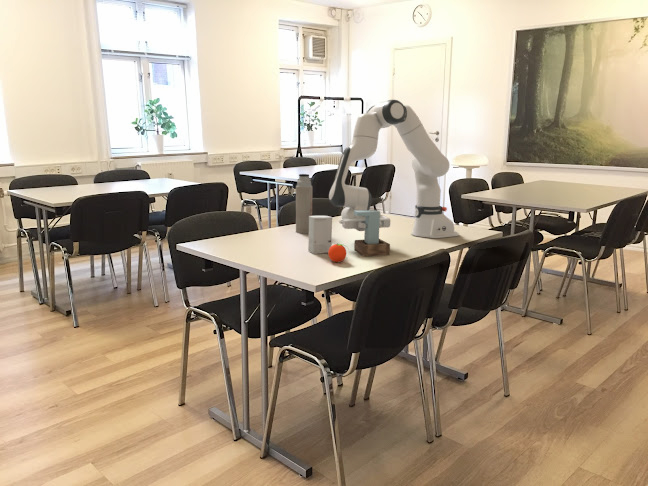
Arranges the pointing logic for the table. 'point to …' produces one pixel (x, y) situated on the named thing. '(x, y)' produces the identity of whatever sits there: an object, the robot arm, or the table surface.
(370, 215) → the bracket
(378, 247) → the well block
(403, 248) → the table surface
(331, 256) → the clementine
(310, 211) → the thermos bottle
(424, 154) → the robot arm
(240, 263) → the table surface
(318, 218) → the skincare box
